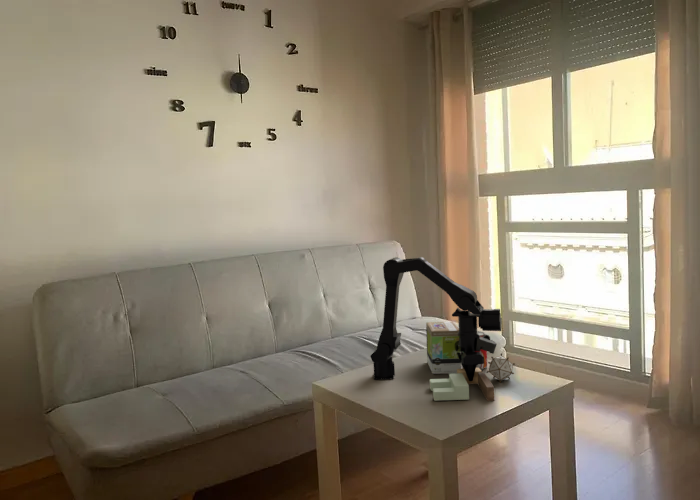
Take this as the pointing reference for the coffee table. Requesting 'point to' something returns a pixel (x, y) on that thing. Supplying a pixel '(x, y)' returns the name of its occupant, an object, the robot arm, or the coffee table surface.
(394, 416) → the coffee table surface
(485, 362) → the soda can
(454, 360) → the tea box
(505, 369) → the game die
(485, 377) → the wall
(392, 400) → the coffee table surface
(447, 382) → the slot block
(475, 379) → the block
